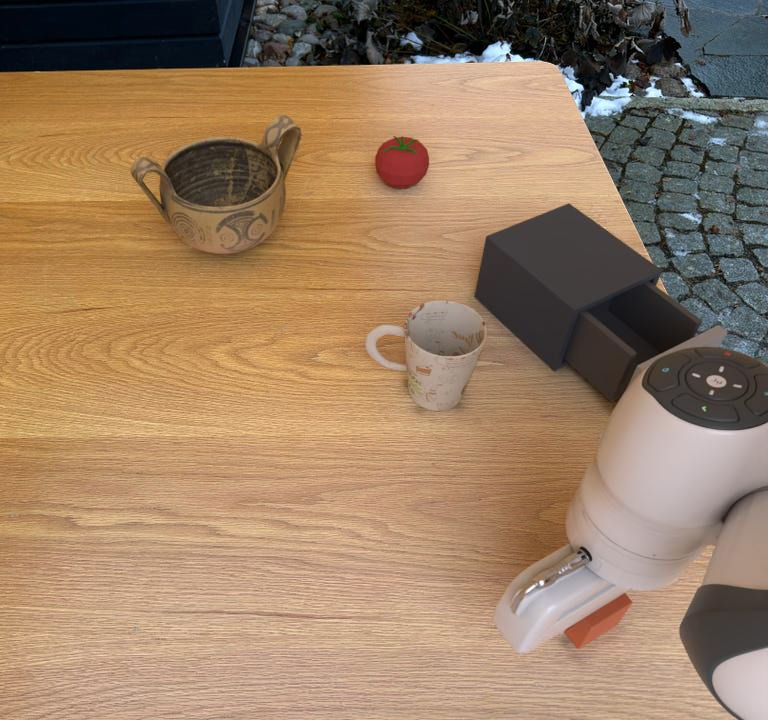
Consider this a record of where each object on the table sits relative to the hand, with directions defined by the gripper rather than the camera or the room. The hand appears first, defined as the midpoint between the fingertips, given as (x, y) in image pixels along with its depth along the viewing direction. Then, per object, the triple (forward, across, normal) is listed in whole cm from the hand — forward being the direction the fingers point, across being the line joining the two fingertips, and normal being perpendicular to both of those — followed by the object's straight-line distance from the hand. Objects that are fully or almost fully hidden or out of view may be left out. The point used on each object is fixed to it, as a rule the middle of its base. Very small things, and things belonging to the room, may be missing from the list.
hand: (584, 607), depth 64 cm
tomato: (+2, +24, +63) cm, 68 cm away
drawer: (+1, +24, +18) cm, 30 cm away
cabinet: (+2, +24, +30) cm, 39 cm away
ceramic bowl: (+2, -4, +65) cm, 65 cm away
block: (+2, 0, 0) cm, 2 cm away
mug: (+2, +3, +29) cm, 29 cm away
